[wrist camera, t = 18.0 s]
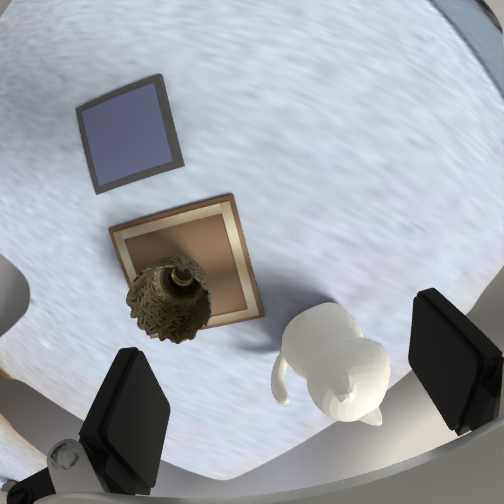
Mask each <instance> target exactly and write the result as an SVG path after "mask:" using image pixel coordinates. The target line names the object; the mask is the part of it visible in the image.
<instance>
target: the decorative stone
mask: <svg viewBox="0 0 504 504" xmlns="http://www.w3.org/2000/svg"><path fill="white" fill-rule="evenodd" d="M16 483H18V481H15V480H9V481H8V482H7V483H5V484H3V485H2V488H1V492H2V493H3V494H4V495H5V496H6V497H7V494H8V492H9V490H10V489H11V488H12V486H14V485H15V484H16Z"/></svg>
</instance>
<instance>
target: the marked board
mask: <svg viewBox="0 0 504 504" xmlns="http://www.w3.org/2000/svg"><path fill="white" fill-rule="evenodd" d="M109 232H110V235H111V238H112V241H113V244H114V247H115V250H116V253H117V256H118V259H119V261H120V264H121V267H122V270H123V272H124V275H125V277H126V280H127V283H128V285H130V283H131V282H132V281H133V280H134V279H135V278H136V277H137V276H138V274H139V273H141V272H142V270H144V269H145V268H147V267H148V266H149V265H151V264H152V263H154V262H155V261H157V260H158V259H160V258H163V257H165V256H170V255H182V256H186V257H188V258H191V259H192V260H194V261H196V262H197V263H198V264H199V265H200V266H201V267H202V268H203V270H204V271H205V273H206V275H207V277H208V280H209V284H210V292H211V318H210V319H209V320H208V324H207V326H206V327H205V325H204V326H203V327H202V329H199V330H203V329H208V328H213V327H218V326H223V325H228V324H233V323H238V322H243V321H247V320H252V319H256V318H261V317H264V312H263V309H262V305H261V301H260V297H259V293H258V289H257V285H256V281H255V277H254V274H253V270H252V266H251V262H250V258H249V254H248V250H247V246H246V242H245V238H244V235H243V231H242V227H241V223H240V219H239V215H238V211H237V207H236V203H235V199H234V195H233V194H231V195H227V196H223V197H219V198H215V199H211V200H207V201H204V202H200V203H196V204H192V205H189V206H185V207H181V208H178V209H174V210H170V211H167V212H163V213H160V214H156V215H153V216H149V217H146V218H143V219H139V220H136V221H132V222H129V223H126V224H123V225H119V226H116V227H113V228H110V229H109ZM176 275H177V277H178V278H179V279H180V280H188V279H189V278H190V274H189V273H188V271H182V270H179V269H177V270H176ZM150 338H151V339H152V338H158V333H157V334H155V335H150Z"/></svg>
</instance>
